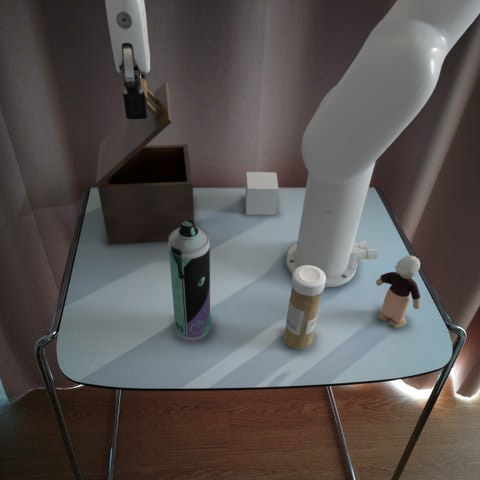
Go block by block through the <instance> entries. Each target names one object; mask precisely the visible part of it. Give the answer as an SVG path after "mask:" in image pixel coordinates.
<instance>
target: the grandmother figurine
mask: <svg viewBox="0 0 480 480" xmlns="http://www.w3.org/2000/svg"><path fill="white" fill-rule="evenodd" d="M420 267H421V261H420V259H419V258H418V257H416V256H415V255H406V256H403V257H402V258H400V259H399V260H398V262H397V263H396V264H395V265H394V268H395V271H389V272H386V273H383V274H381V275H380V277H379V278H378V279H377V280H376V281H375V284H376V286H378V287H381V286H383V284H388V285H390V286H389V287H388V289H387V291H386V294H385V296H384V299H383V303H382V306H381V311H380V312H379V314H378V320H380V321H382V322H388V321H389V320H390V319H392V320H391V321H390V323H389V324H390V326H391V327H392V328H395V329H400V328H402V327H405V326H406V325H407V319H406V318H405V316H406V312H407V308H408V306H409V303H410V296H411V299H412V307H413V309H415V310H419V309H420V308H421V304H420V303H421V294H420V290H419V287H418V284H417V282H416V281H415V280H414V279H413V278H414V277H416V276H417V274H418V273H419V271H420V269H421V268H420Z"/></svg>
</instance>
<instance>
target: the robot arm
mask: <svg viewBox="0 0 480 480" xmlns="http://www.w3.org/2000/svg"><path fill="white" fill-rule="evenodd" d="M104 4H105V10H106V11H105V12H106V17H107V25H108V32H109V37H110V38H109V39H110V44H111V49H112V54H113V60H114V65H115V70H116V71H117V73H118V74H120V75H121V79H122V87H123V88H122V89H123V91H122V97H123V103H124V104H123V105H124V110H125V119H126V118H127V119H146V118H147V112H146V102H145V93H144V92H143V91H142V81H141V78H143V79H145V80H146V75H145V74H149V72H150V71H151V51H150V43H149V41H150V40H149V31H148V21H147V11H146V3H145V0H104ZM479 15H480V0H396V2H395V3H394V4H393V5H392V7H391V8H390V9H389V11H388V12H387V13H386V14H385V16H384V17H383V18H382V19H381V20H380V21H379V22H378V23H377V24H376V25H375V27H374V28H373V29H372V30H371V31H370V33H369V34H368V37H367V38H366V40H365V42H364V43H363V45H362V47H361V49H360V50H359V52H358V53H357V55H356V57H355V58H354V59H353V61H352V63H351V64H350V66H349V67H348V68H347V70H346V71H345V73H344V74H343V76H342V77H341V78H340V80H339V82H338V83H337V84H336V85H334V86H333V87H332V88H331V89H330V90H329V91H328V92H327V93H326V94H325V95H324V97H323V99H322V100H321V102H320V103H319V105H318V107H317V108H316V110H315V111H314V113H313V116H312V117H311V119H310V121H309V123H308V125H307V126H306V128H305V130H304V132H303V135H302V138H301V146H300V149H301V150H300V151H301V157H302V161H303V164H304V166H305V168H306V170H307V171H308V173H307V181H306V184H305V185H306V187H305V192H304V198H303V205H302V211H301V219H300V225H299V229H298V230H299V231H298V237H297V242H295V243H294V244H292V245H291V246H290V247H289V249H288V251H287V253H286V259H285V260H286V261H285V263H286V267H287V269H288V271H289V273H291V275H293V272H294V271H295V269H297V268H298V267H300V266H304V265H311V266H315V267H318V268H319V269H321V270H322V271H323V272H324V274H325V276H326V281H325V286H324V288H334V287H339V286H342V285H345V284H346V283H348V282H350V281H351V280H352V279H353V278H354V276H355V274H356V271H357V269H358V268H357V267H358V263H359V262H360V261H361V260H377V258H378V257H379V256H378V255H379V253H378V249H377V248H376V247H372V248H371V247H370V248H367V242H366V241H365V240H364V241H363V240H362V241H356V238H357V237H356V236H357V232H358V230H359V226H360V221H361V217H362V213H363V210H364V205H365V202H366V199H367V195H368V191H369V187H370V183H371V179H372V177H373V173H374V168H375V165H376V162H377V160H378V159H379V158H380V157H381V156H382V155H383V153H385V152H386V150H388V148H389V147H390V146H391V145H392V143H394V141H395V140H396V139H397V138H398V137H399V136H400V135H401V133H402V132H403V131H404V130H405V129H406V128H407V127H408V126H409V124H411V122H412V121H413V120H414V119H415V118H416V117H417V116H418V114H419V113H420V112H421V110H422V109H423V108H424V106H425V105H426V104H427V102H428V101H429V99H430V98H431V96H432V94H433V93H434V90H435V89H436V86H437V83H438V82H439V78H440V74H441V71H442V66H443V65H444V64H443V63H444V61H445V59H446V57H447V55H448V54H449V53H450V51H451V50H452V48H453V47H454V46H455V45H456V44H457V42H458V41H459V40H460V39H461V37H462V36H463V35H464V33H465V32H466V31H467V30H468V28H469V27H470V26H471V25H472V24H473V22H475V20H476V19H477V17H478V16H479ZM136 79H138V82H137V80H136Z"/></svg>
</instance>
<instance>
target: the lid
mask: <svg viewBox="0 0 480 480" xmlns="http://www.w3.org/2000/svg"><path fill="white" fill-rule="evenodd" d="M136 80H137V82H138V79H136ZM141 81H142V91H143V92H144V93H145V102H146V112H147V118H146V119H127V118H126V117H125V119H124V120H123V121H122V122H121V123H120V124H119V125H118V126H116V127H115V128H114V129H113V130H112V131H111V132H110V133H109V134H108V135H107V136H106V137H105V138H104V139H103V140H102V141H100V143H99V150H98V161H97V168H96V177H95V185H96V186H97V187H98V186H99V187H100V186H101V185H102V184H103V183H104V182H105V181H106V180H108V179H109V178H110V177H111V176H112V175H113V174H114V173H115V172H116V171H118V170H119V169H120V168H121V167H122V166H123V165H124V164H125V163H127V162H128V161H129V160H130V159H131V158H132V157H133V156H134V155H136V154H137V153H138V152H139V151H140V150H141V149H142V148H143V147H145V146H148V144H149V143H150V142H152V140H154V139H155V138H156V137H157V136H158V135H159V134H160V133H162V132H163V131H164V130H165V129H166V128H168V126H169V125H171V124H172V123H173V118H172V108H171V106H172V105H171V97H170V84H169V83H168V82H167V81H164V82H163V83H162V84H161V85H160V86H159V87H158V88H157V89H155V91H154V92H152V91H151V90H150V89H149V88H148V82H147V80H146V78H145V79H143V78H141Z"/></svg>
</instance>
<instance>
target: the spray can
mask: <svg viewBox="0 0 480 480" xmlns="http://www.w3.org/2000/svg"><path fill="white" fill-rule="evenodd" d="M167 243H168V245H167V247H168V254H169V255H168V258H169V270H170V280H171V281H170V282H171V292H172V305H173V315H174V328H175V332H176V334H177V336H179V338H181V339H183V340H186V341H192V342H195V341H200V340H203V339H204V338H206V337H207V336H208V334H209V333H210V330H211V243H210V237H209V234H208V233H207V231H205V230H204V229H202V228H200V227H197V226H196V223H195V220H194V221H192V220H188V221H185V222H183V223H182V224H181V227H180V228H178V229H176V230H174V231H173V232H172V233H171V234H170V236H169V241H167Z"/></svg>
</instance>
